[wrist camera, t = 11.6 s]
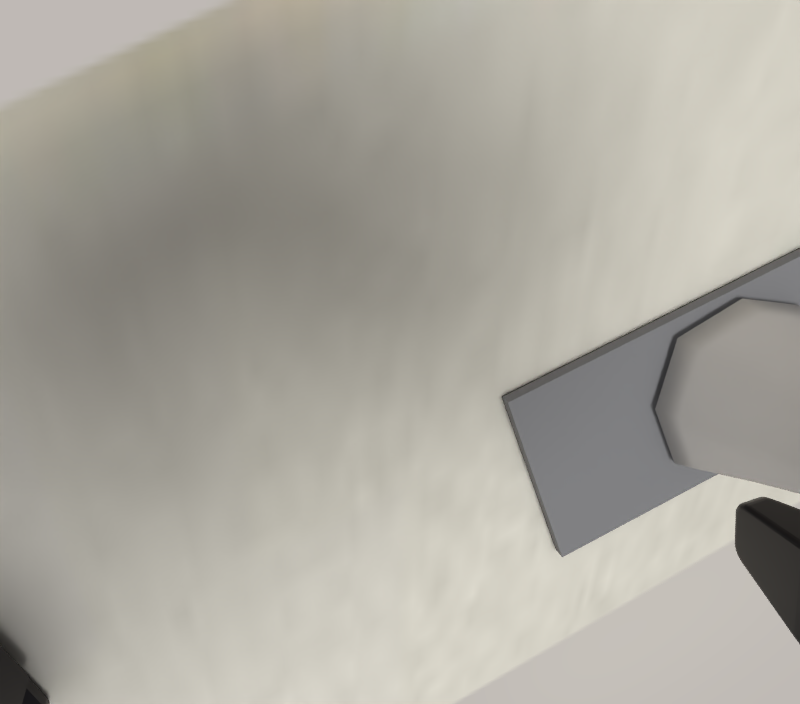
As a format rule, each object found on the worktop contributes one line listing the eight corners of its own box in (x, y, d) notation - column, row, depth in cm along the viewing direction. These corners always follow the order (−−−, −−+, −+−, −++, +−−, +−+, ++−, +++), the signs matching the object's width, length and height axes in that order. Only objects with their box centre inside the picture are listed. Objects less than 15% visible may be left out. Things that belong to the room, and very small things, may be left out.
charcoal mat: (556, 549, 27) (562, 557, 27) (502, 396, 24) (507, 402, 24) (949, 340, 30) (961, 344, 29) (949, 173, 26) (962, 174, 26)
